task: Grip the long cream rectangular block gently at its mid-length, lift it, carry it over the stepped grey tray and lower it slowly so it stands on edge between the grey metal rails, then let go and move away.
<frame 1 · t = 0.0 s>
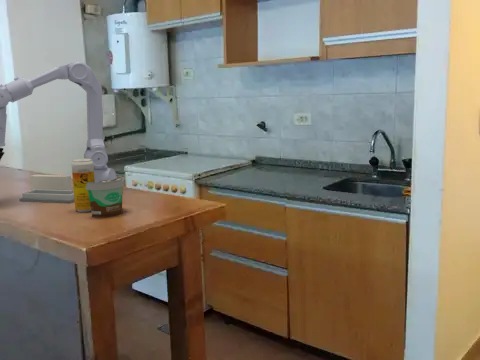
food container: (112, 214, 141), on the table
long cream rectangular block: (51, 192, 173), on the table
stepped grey tray: (52, 199, 162), on the table
beer can: (86, 210, 146), on the table
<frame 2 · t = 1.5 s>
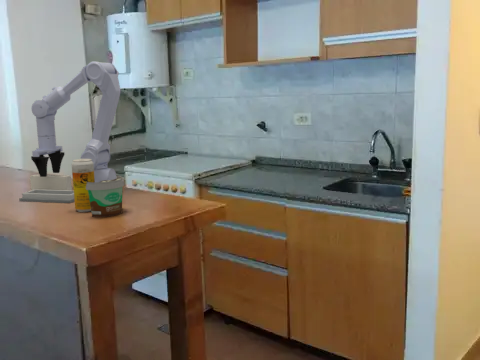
hand: (50, 174, 172), 6 cm above the table, tool pointing down, fingers open, 7 cm apart
nothing on the table moved.
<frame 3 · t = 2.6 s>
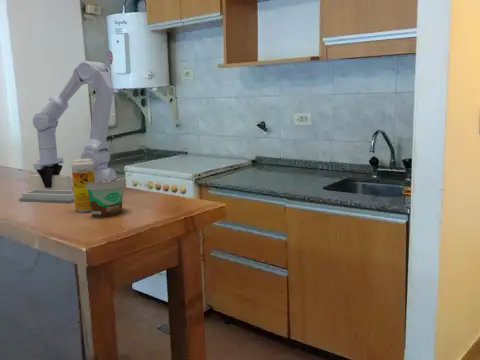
hand: (51, 186, 172), 2 cm above the table, tool pointing down, fingers closed on long cream rectangular block, 3 cm apart
long cream rectangular block: (51, 192, 173), on the table, touching gripper
everything else where it was.
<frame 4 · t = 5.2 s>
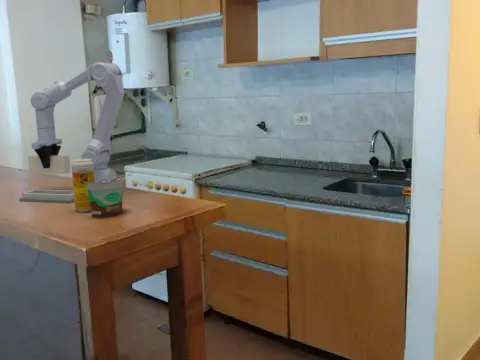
hand: (49, 167, 171), 9 cm above the table, tool pointing down, fingers closed on long cream rectangular block, 3 cm apart
long cream rectangular block: (50, 172, 171), point 7 cm above the table, touching gripper
everything else where it was.
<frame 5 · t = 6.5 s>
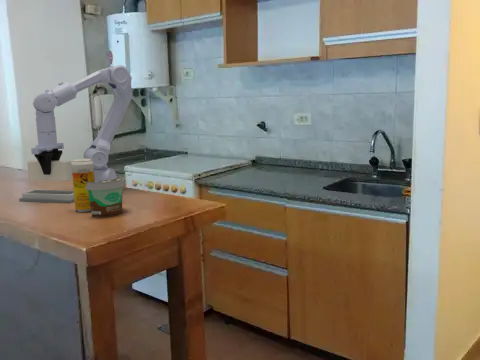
hand: (50, 173, 160), 8 cm above the table, tool pointing down, fingers closed on long cream rectangular block, 3 cm apart
long cream rectangular block: (50, 179, 160), point 7 cm above the table, touching gripper
everything else where it was.
when the fingers open (4 cm above the table, at t = 7.8 s): long cream rectangular block stays where it is, resting on stepped grey tray.
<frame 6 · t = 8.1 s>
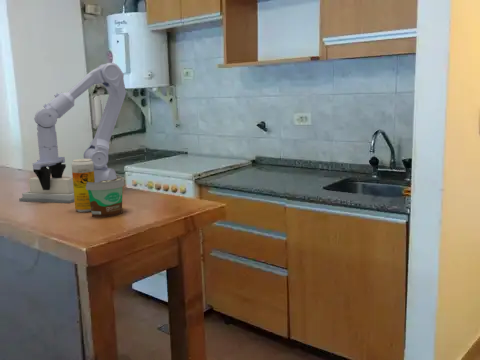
hand: (51, 187, 161), 4 cm above the table, tool pointing down, fingers open, 5 cm apart
long cream rectangular block: (52, 196, 161), point 1 cm above the table, touching stepped grey tray
everything else where it was.
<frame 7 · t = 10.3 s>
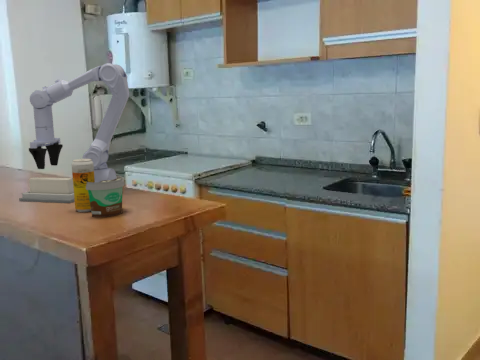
hand: (47, 167, 167), 9 cm above the table, tool pointing down, fingers open, 7 cm apart
nothing on the table moved.
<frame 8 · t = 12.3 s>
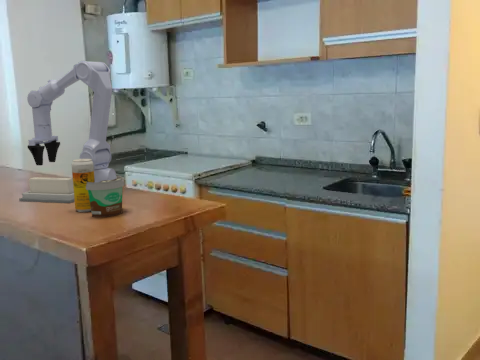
hand: (46, 163, 176), 9 cm above the table, tool pointing down, fingers open, 7 cm apart
nothing on the table moved.
at the end: long cream rectangular block 0.0 cm off-centre on the stepped grey tray, point 0.8 cm above the stepped grey tray's base; long cream rectangular block tilted 0°; the gripper is holding nothing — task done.
